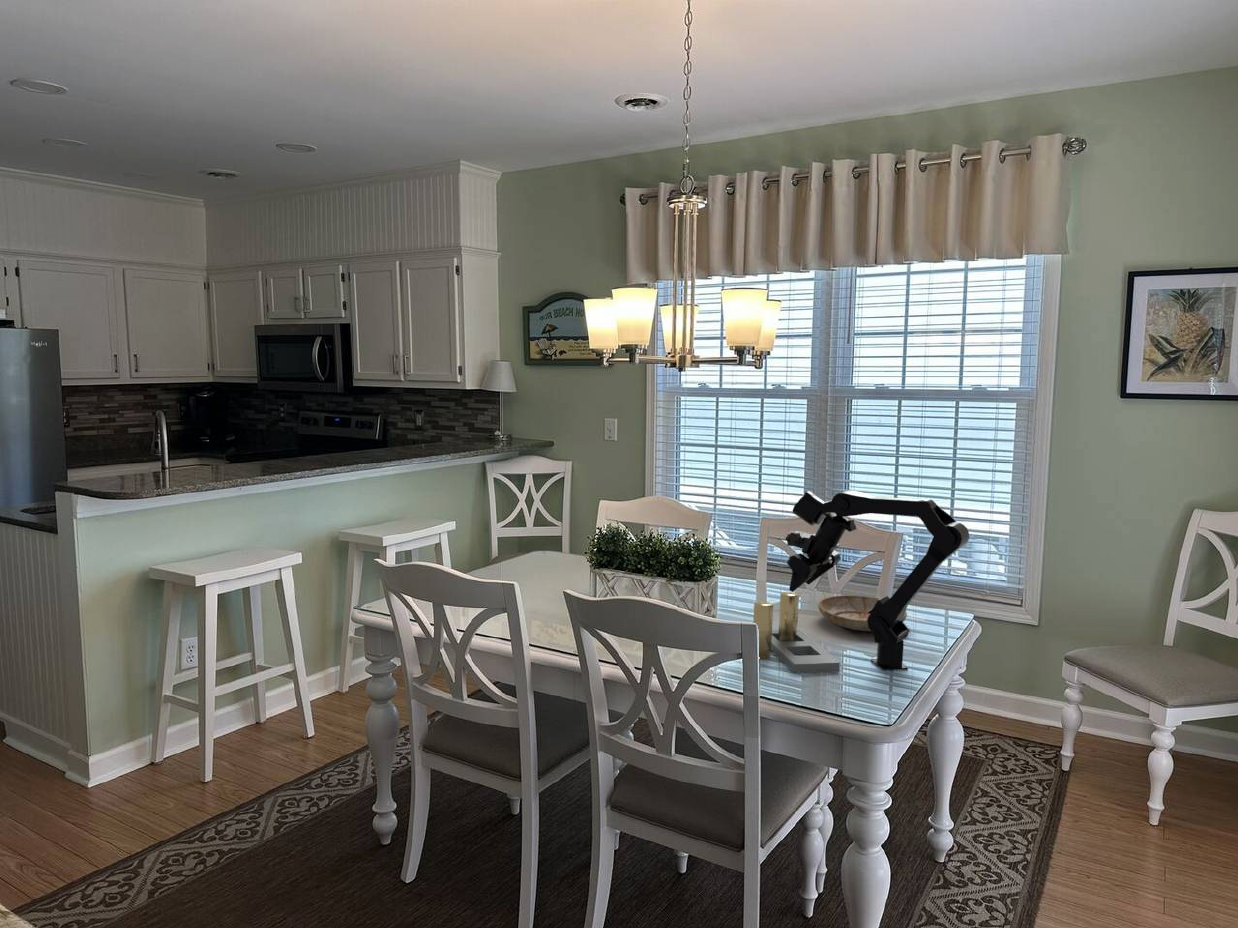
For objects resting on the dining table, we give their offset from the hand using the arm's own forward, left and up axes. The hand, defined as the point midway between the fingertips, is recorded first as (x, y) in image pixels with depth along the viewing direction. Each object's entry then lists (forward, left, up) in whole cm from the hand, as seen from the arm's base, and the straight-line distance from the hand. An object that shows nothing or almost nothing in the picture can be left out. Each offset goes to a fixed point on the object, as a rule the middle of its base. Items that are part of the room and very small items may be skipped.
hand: (799, 587), depth 214 cm
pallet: (-8, +3, -15) cm, 17 cm away
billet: (-1, +3, -15) cm, 15 cm away
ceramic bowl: (+13, -24, -15) cm, 32 cm away
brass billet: (-9, +12, -15) cm, 21 cm away
